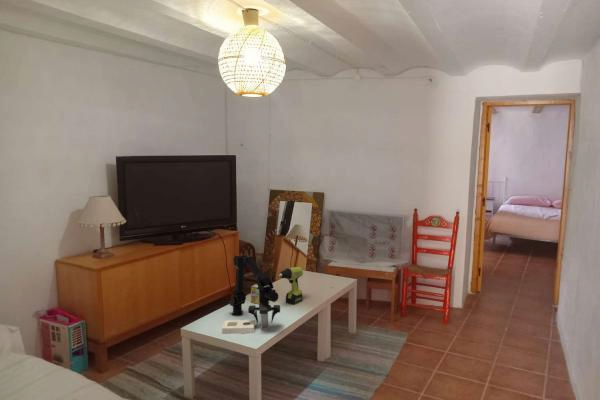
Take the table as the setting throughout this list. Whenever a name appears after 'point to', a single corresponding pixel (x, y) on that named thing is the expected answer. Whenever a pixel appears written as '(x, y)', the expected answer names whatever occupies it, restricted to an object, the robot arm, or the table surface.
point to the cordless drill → (293, 284)
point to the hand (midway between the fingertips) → (264, 322)
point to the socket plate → (238, 326)
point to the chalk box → (255, 294)
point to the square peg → (264, 320)
